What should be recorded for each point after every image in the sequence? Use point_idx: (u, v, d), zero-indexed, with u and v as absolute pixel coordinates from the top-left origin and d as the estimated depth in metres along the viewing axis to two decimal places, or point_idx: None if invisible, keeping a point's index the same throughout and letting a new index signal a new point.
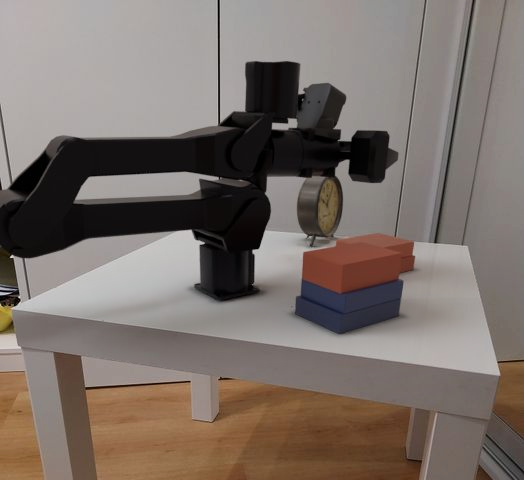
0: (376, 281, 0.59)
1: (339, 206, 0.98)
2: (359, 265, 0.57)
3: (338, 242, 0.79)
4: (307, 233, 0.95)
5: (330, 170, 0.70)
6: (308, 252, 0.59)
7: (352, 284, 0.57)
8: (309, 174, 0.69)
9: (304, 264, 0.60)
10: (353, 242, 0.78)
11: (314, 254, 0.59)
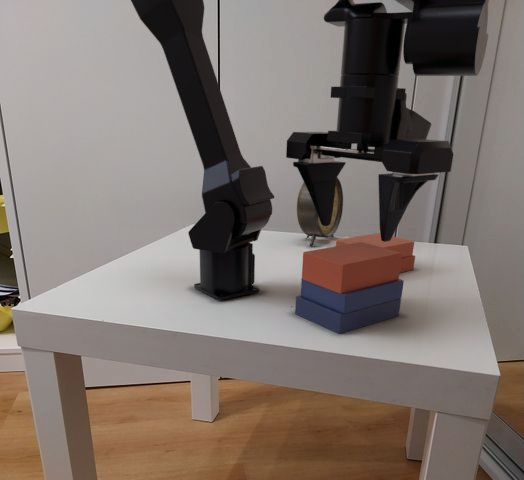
0: (376, 281, 0.59)
1: (339, 206, 0.98)
2: (359, 265, 0.57)
3: (338, 242, 0.79)
4: (307, 233, 0.95)
5: (368, 134, 0.52)
6: (308, 252, 0.59)
7: (352, 284, 0.57)
8: (369, 93, 0.50)
9: (304, 264, 0.60)
10: (353, 242, 0.78)
11: (314, 254, 0.59)
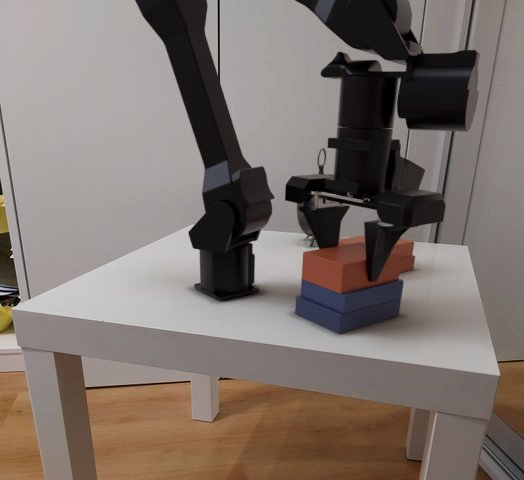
0: (376, 281, 0.59)
1: None
2: (359, 265, 0.57)
3: None
4: (307, 233, 0.95)
5: (363, 184, 0.54)
6: (308, 252, 0.59)
7: (352, 284, 0.57)
8: (364, 146, 0.52)
9: (304, 264, 0.60)
10: (353, 242, 0.78)
11: (314, 254, 0.59)
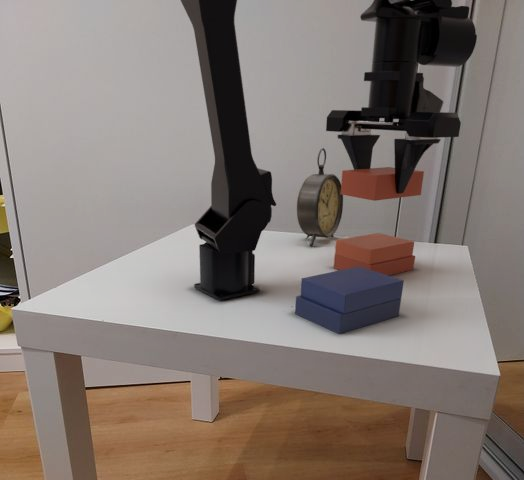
0: (403, 194, 0.72)
1: (339, 206, 0.98)
2: (389, 177, 0.69)
3: (338, 242, 0.79)
4: (307, 233, 0.95)
5: (393, 109, 0.67)
6: (346, 170, 0.72)
7: (384, 193, 0.70)
8: (394, 76, 0.65)
9: (343, 181, 0.73)
10: (353, 242, 0.78)
11: (352, 171, 0.71)
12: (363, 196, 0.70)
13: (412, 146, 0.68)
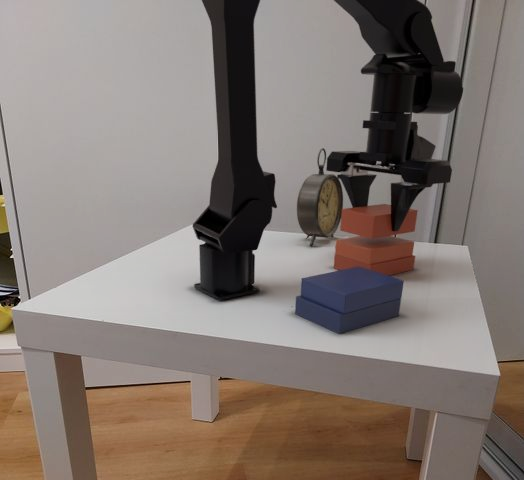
0: (398, 231, 0.77)
1: (339, 206, 0.98)
2: (386, 217, 0.75)
3: (338, 242, 0.79)
4: (307, 233, 0.95)
5: (390, 155, 0.72)
6: (346, 209, 0.77)
7: (381, 231, 0.75)
8: (391, 126, 0.70)
9: (342, 218, 0.78)
10: (353, 242, 0.78)
11: (351, 210, 0.77)
12: (361, 234, 0.76)
13: (407, 189, 0.73)
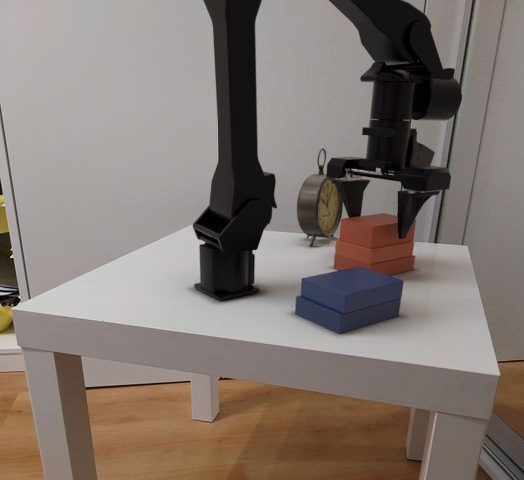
0: (396, 241, 0.78)
1: (339, 206, 0.98)
2: (385, 227, 0.75)
3: (338, 242, 0.79)
4: (307, 233, 0.95)
5: (389, 162, 0.72)
6: (345, 219, 0.78)
7: (379, 242, 0.76)
8: (390, 133, 0.71)
9: (341, 228, 0.79)
10: None
11: (350, 220, 0.77)
12: (360, 244, 0.76)
13: (414, 197, 0.73)
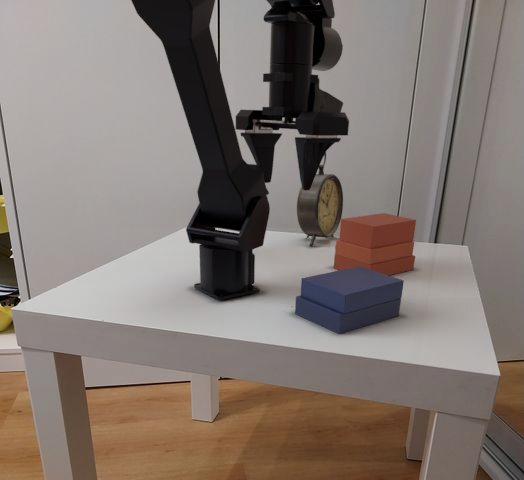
0: (396, 241, 0.78)
1: (339, 206, 0.98)
2: (385, 227, 0.75)
3: (338, 242, 0.79)
4: (307, 233, 0.95)
5: (288, 108, 0.70)
6: (345, 219, 0.78)
7: (379, 242, 0.76)
8: (287, 77, 0.69)
9: (341, 228, 0.79)
10: None
11: (350, 220, 0.77)
12: (360, 244, 0.76)
13: (314, 144, 0.71)
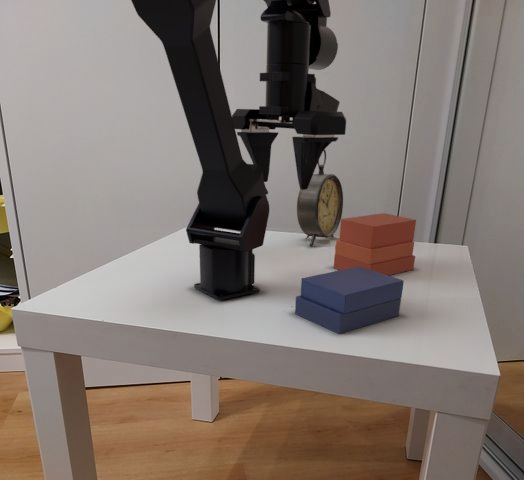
0: (396, 241, 0.78)
1: (339, 206, 0.98)
2: (385, 227, 0.75)
3: (338, 242, 0.79)
4: (307, 233, 0.95)
5: (285, 108, 0.70)
6: (345, 219, 0.78)
7: (379, 242, 0.76)
8: (284, 76, 0.69)
9: (341, 228, 0.79)
10: None
11: (350, 220, 0.77)
12: (360, 244, 0.76)
13: (311, 144, 0.71)
